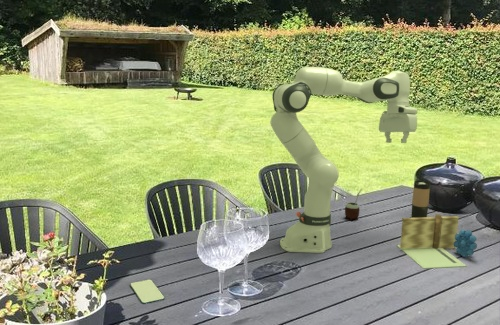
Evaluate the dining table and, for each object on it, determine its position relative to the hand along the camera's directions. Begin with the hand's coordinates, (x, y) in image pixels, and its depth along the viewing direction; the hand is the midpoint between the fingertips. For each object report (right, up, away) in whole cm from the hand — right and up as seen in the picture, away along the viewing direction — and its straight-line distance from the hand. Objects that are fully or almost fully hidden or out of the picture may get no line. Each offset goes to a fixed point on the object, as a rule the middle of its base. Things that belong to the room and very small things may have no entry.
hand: (396, 142), depth 216 cm
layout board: (+13, -47, -5) cm, 49 cm away
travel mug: (+22, -38, +38) cm, 58 cm away
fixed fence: (+21, -45, +3) cm, 50 cm away
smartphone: (-97, -53, -40) cm, 118 cm away
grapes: (+27, -47, -5) cm, 55 cm away
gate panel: (+9, -44, +1) cm, 45 cm away
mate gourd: (-11, -37, +40) cm, 55 cm away
